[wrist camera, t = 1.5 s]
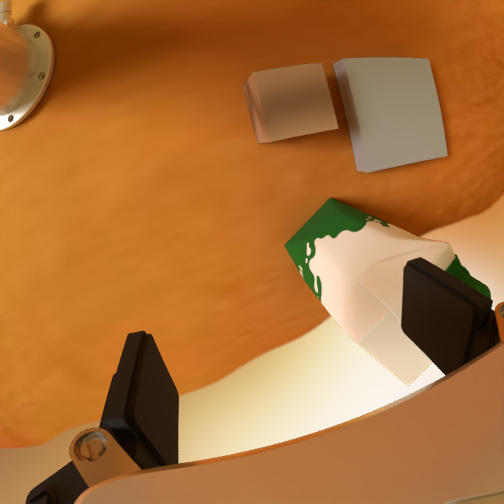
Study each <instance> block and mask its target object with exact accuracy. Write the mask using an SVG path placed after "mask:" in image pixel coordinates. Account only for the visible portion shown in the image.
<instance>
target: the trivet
mask: <svg viewBox="0 0 504 504" xmlns="http://www.w3.org/2000/svg"><path fill="white" fill-rule="evenodd" d="M333 67H334V71H335V74H336V78H337V82H338V85H339V89H340V93H341V97H342V101H343V106H344V110H345V114H346V119H347V123H348V128H349V132H350V137H351V142H352V147H353V152H354V157H355V163H356V168H357V171H363V172H368V173H369V172H373V171H378V170H382V169H387V168H391V167H396V166H401V165H405V164H410V163H415V162H420V161H425V160H430V159H435V158H440V157H445V156H448V155H447V147H446V139H445V133H444V126H443V121H442V115H441V110H440V104H439V100H438V95H437V90H436V86H435V82H434V78H433V74H432V70H431V66H430V62H429V59H423V58H401V57H366V58H343V59H341V60H339V61H337V62H335V63H334V64H333Z"/></svg>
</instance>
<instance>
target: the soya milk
mask: <svg viewBox="0 0 504 504" xmlns="http://www.w3.org/2000/svg"><path fill="white" fill-rule="evenodd" d="M285 247H286V249H287V251H288V252H289V254H290V256H291V258H292V259H293V261H294V263H295V265H296V266H297V268H298V270H299V272H300V274H301V275H302V277H303V279H304V280H305V282H306V283H307V285H308V286H309V287H310V289H311V290H312V291H313V293H314V294H315V295H316V297H317V298H318V299H319V300H320V302H321V303H322V304H323V306H324V307H325V308H326V310H327V311H328V312H329V313H330V315H331V316H332V317H333V319H334V320H335V321H336V323H337V324H338V325H339V326H340V328H341V329H342V330H343V331H344V332H345V333H346V334H347V335H348V336H349V337H350V338H351V339H352V340H354V341H355V342H356V343H357V344H358V345H359V346H360V347H361V348H363V349H364V350H365V351H366V352H367V353H368V354H370V355H371V356H372V357H373V358H374V359H376V360H377V361H378V362H379V363H380V364H381V365H383V366H384V367H385V368H386V369H387V370H389V371H390V372H391V373H392V374H393V375H395V376H396V377H397V378H398V379H399V380H401V381H402V382H403V383H404V384H406V385H407V386H409V385H410V384H411V383H413V382H414V381H415V380H416V379H417V378H418V377H419V376H420V375H421V374H422V373H423V372H424V371H425V370H426V369H427V368H428V367H429V366H430V365H431V364H432V363H433V362H432V361H431V360H430V359H429V358H428V357H427V356H426V355H425V354H424V353H423V352H422V351H421V350H420V349H419V348H418V347H417V346H416V345H415V344H414V343H413V342H412V341H411V340H410V339H409V338H408V337H407V336H406V335H405V334H404V333H403V331H402V329H401V314H402V294H403V268H404V266H406V263H407V261H409V260H412V259H415V258H418V257H422V258H424V259H426V260H427V261H429V262H431V263H432V264H434V265H436V266H438V267H439V268H441V269H443V270H444V271H446V272H448V273H449V274H451V275H453V276H454V277H456V278H458V279H459V280H461V281H463V282H464V283H466V284H468V285H469V286H471V287H472V288H474V289H476V290H477V291H479V292H480V293H482V294H483V295H485V296H487V297H488V298H490V299H491V294H490V290H489V288H488V287H487V286H486V285H485V284H483V283H482V282H480V281H478V280H476V279H475V278H473V277H472V276H471V275H470V274H469V272H468V270H467V269H466V268H465V267H463V266H462V265H461V263H460V261H459V259H458V257H457V255H456V254H454V253H453V251H452V249H451V247H450V245H449V243H447V242H442V241H436V240H430V239H424V238H420V237H418V236H416V235H413V234H411V233H409V232H407V231H405V230H403V229H401V228H398V227H396V226H394V225H392V224H390V223H388V222H385V221H383V220H381V219H379V218H376V217H374V216H372V215H369V214H367V213H365V212H363V211H360V210H358V209H356V208H354V207H351V206H349V205H347V204H344V203H342V202H339V201H337V200H335V199H332V198H329V199H328V200H327V201H326V202H325V204H324V205H323V206H322V207H321V208H320V209H319V210H318V211H317V212H316V213H315V214H314V215H313V216H312V217H311V218H310V219H309V220H308V221H307V222H306V223H305V225H304V226H303V227H302V228H301V229H300V230H299V231H298V232H297V233H296V234H295V235H294V236H293V237H292V238H291V239H290V240H289V241H288V242H287V243H286V244H285Z"/></svg>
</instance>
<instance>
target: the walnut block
mask: <svg viewBox="0 0 504 504" xmlns="http://www.w3.org/2000/svg"><path fill="white" fill-rule="evenodd" d="M243 90H244V93H245V97H246V101H247V105H248V108H249V112H250V116H251V120H252V124H253V128H254V132H255V136H256V140H257V144H258V143H267V142H274V141H278V140H283V139H287V138H292V137H297V136H302V135H307V134H312V133H317V132H323V131H328V130H334V129H338V124H337V120H336V115H335V111H334V107H333V103H332V99H331V95H330V91H329V87H328V83H327V79H326V76H325V72H324V68H323V65H322V63H312V64H303V65H295V66H287V67H280V68H274V69H268V70H262V71H256V72H253V73H252V74H251V75H250V77H249V78H248V80H247V81H246V82H245V84H244V85H243Z"/></svg>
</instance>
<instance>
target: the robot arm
mask: <svg viewBox="0 0 504 504" xmlns="http://www.w3.org/2000/svg"><path fill="white" fill-rule="evenodd" d="M11 14H12V1H10V0H5V1H2V2H1V3H0V131H4V130H7V129H10V128H12V127H14V126H16V125H18V124H19V123H20V122H22V121H23V120H24V119H25V118H26V117H27V116H28V115H29V114H30V113H31V112H32V111H33V110H34V109H35V107H36V106H37V104H38V103H39V102H40V100H41V98H42V97H43V95H44V93H45V91H46V89H47V87H48V84H49V82H50V79H51V76H52V72H53V67H54V60H55V57H54V47H53V42H52V40H51V38H50V36H49V35H48V34H47V33H46V32H45V31H44V30H43V29H41V28H39V27H38V26H35V25H31V24H23V25H19V26H15V25H14V20H13V19H11ZM44 76H45V77H44ZM492 303H493V300H491V299H490V298H488V297H487V296H485V295H483V294H482V293H480V292H479V291H477V290H476V289H474V288H472V287H471V286H469V285H468V284H466V283H464V282H463V281H461V280H459V279H458V278H456V277H454V276H453V275H451V274H449V273H448V272H446V271H444V270H443V269H441V268H439V267H438V266H436V265H434V264H432V263H431V262H429V261H427V260H426V259H424V258H422V257H418V258H415V259H412V260H409V261H407V263H406V266H404V268H403V294H402V314H401V329H402V331H403V333H404V334H405V335H406V336H407V337H408V338H409V339H410V340H411V341H412V342H413V343H414V344H415V345H416V346H417V347H418V348H419V349H420V350H421V351H422V352H423V353H424V354H425V355H426V356H427V357H428V358H429V359H430V360H431V361H432V362H433V363H434V364H435V365H436V366H437V367H438V368H439V369H440V370H441V371H442V372H443V373H444V374H445V375H446V376H444V377H443V378H441V379H439V380H437V381H435V382H433V383H431V384H429V385H428V386H426V387H424V388H422V389H420V390H418V391H416V392H414V393H412V394H410V395H408V396H405V397H403V398H401V399H399V400H397V401H395V402H393V403H390V404H388V405H386V406H384V407H381V408H379V409H377V410H374V411H372V412H369V413H367V414H365V415H362V416H360V417H357V418H355V419H352V420H350V421H347V422H344V423H341V424H338V425H336V426H333V427H330V428H327V429H324V430H321V431H318V432H315V433H312V434H309V435H306V436H302V437H299V438H296V439H292V440H289V441H285V442H282V443H278V444H274V445H271V446H266V447H262V448H258V449H254V450H249V451H245V452H240V453H236V454H231V455H226V456H222V457H217V458H211V459H205V460H199V461H192V462H186V463H180V464H178V415H179V411H178V410H179V396H178V391H177V389H176V387H175V385H174V382H173V380H172V378H171V376H170V374H169V372H168V370H167V368H166V366H165V363H164V361H163V359H162V357H161V354H160V352H159V350H158V348H157V345H156V343H155V341H154V338H153V336H152V335H151V334H146V332H145V331H139V332H134V333H130V334H128V336H127V339H126V342H125V345H124V348H123V352H122V355H121V358H120V362H119V365H118V368H117V372H116V373H115V374H114V375H113V378H112V381H111V384H110V388H109V392H108V395H107V399H106V403H105V406H104V410H103V414H102V418H101V422H100V426H99V428H90V429H86V430H84V431H82V432H80V433H79V434H78V435H77V436H76V437H75V438H74V439H73V441H72V442H71V445H70V447H69V454H70V457H71V459H72V461H71V462H69V463H68V464H67V465H65V466H64V467H63V468H61V469H60V470H58V471H57V472H56V473H54V474H53V475H52V476H50V477H49V478H47V479H46V480H45V481H43V482H42V483H40V484H39V485H37V486H36V487H35V488H33V489H32V490H31V491H30V493H29V495H28V496H27V499H26V504H504V302H502V303H499V304H498V305H497V306H496V308H495V311H493V310H492V309H491V307H492Z"/></svg>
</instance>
